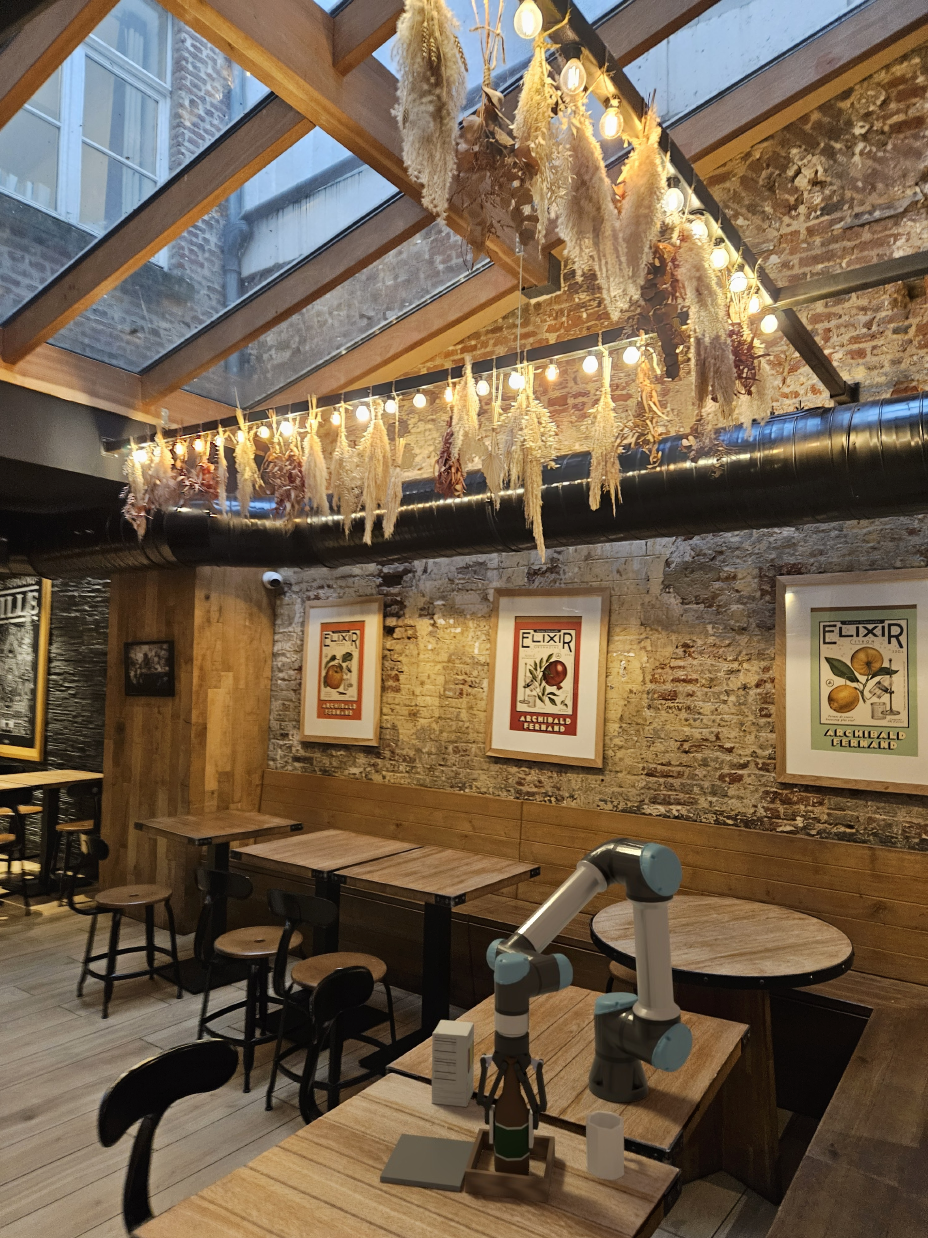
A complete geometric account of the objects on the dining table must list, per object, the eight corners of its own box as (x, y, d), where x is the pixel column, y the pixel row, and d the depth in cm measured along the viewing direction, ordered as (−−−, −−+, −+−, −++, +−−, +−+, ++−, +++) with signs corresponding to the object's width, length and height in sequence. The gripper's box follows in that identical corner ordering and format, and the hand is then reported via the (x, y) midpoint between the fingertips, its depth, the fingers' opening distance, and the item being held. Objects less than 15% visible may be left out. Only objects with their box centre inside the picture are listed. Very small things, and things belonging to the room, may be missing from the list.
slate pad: (474, 1146, 181) (474, 1142, 181) (459, 1191, 164) (459, 1186, 164) (401, 1138, 184) (401, 1133, 184) (379, 1181, 167) (380, 1176, 167)
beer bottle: (505, 1188, 165) (505, 1065, 168) (486, 1168, 172) (487, 1051, 175) (536, 1178, 169) (536, 1058, 171) (517, 1159, 176) (517, 1044, 178)
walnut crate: (554, 1156, 177) (554, 1136, 178) (548, 1202, 161) (548, 1181, 161) (479, 1147, 181) (479, 1128, 181) (464, 1192, 164) (464, 1171, 164)
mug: (617, 1185, 167) (616, 1134, 168) (578, 1171, 171) (578, 1123, 172) (637, 1157, 177) (636, 1110, 178) (600, 1146, 182) (600, 1100, 183)
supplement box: (467, 1108, 198) (467, 1036, 200) (430, 1104, 200) (431, 1033, 202) (474, 1090, 207) (474, 1021, 209) (439, 1086, 209) (440, 1018, 211)
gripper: (560, 1027, 175) (561, 1138, 173) (468, 1019, 179) (467, 1128, 177) (558, 1041, 168) (558, 1158, 166) (461, 1033, 172) (460, 1146, 170)
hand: (511, 1142), depth 171 cm, fingers closed on beer bottle, 8 cm apart
